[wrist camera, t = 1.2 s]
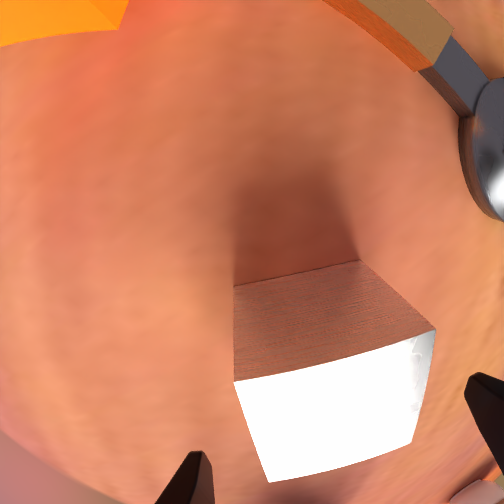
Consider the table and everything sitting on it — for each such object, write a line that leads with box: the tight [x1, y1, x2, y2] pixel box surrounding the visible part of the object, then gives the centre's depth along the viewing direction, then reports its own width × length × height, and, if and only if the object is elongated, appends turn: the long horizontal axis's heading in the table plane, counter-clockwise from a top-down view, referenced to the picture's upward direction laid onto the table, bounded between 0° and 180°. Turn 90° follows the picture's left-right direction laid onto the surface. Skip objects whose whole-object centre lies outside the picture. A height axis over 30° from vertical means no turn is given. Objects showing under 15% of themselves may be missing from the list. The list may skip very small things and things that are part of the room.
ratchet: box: [322, 0, 504, 222], centre depth 8 cm, size 17×8×4 cm, turn 56°
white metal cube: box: [234, 260, 436, 482], centre depth 11 cm, size 6×6×6 cm
